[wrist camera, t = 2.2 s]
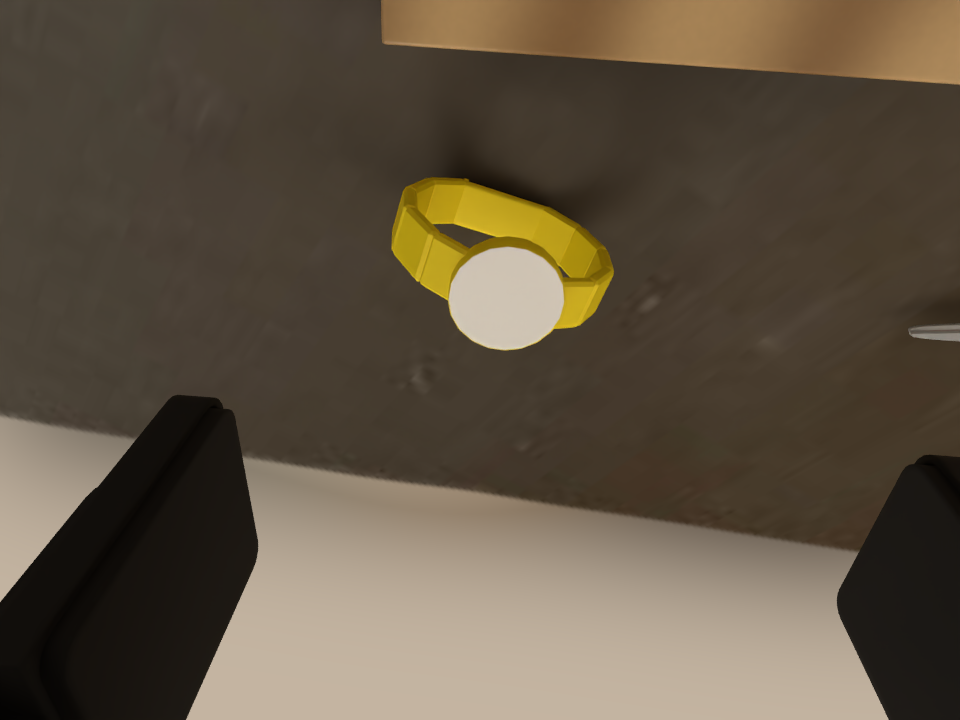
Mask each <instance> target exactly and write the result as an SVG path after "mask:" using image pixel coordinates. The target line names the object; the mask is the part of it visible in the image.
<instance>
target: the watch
mask: <svg viewBox="0 0 960 720" xmlns="http://www.w3.org/2000/svg"><path fill="white" fill-rule="evenodd" d="M449 223H453V224H456V225H459V226H462V227H466V228H469V229H472V230H476V231H479V232H482V233H485V234H489V235H492V236H495V237H497V238H490V239H487V240H485V241H483V242H481V243H479V244H476V245H474V246H473V247H471V248H470V249H469V248H468V247H466V246H464V245H462V244H461V243H459V242H457V241H455V240H453V239H452V238H450V237H448V236H446V235H445V234H443V233H440V232H439V230H438V229H437V228H436V227H435V226H434V225H433V224H449ZM392 251H393V252H394V255H395V256H396V257H397V259H398V260H399V261H400V262H401V263H402V264H403V266H404V267H405V268H406V269H407V270H408V271H409V272H410V274H411V275H412V276H413V277H414V278H415V279H416V281H420V283H421V285H423V286H424V287H426V288H428V289H429V290H431V291H433V292H435V293H436V294H438V295H440V296H441V297H443V298H445V299H446V300H448V304H449V310H450V314H451V317H452V318H453V320H454V322H455V323H456V325H457V327H458V328H459V330H460V331H461V332H462V333H464V334H465V335H466V336H467V337H468V338H469V339H470V340H472V341H473V342H476V343H478V344H480V345H482V346H484V347H487V348H492V349H498V350H513V349H521V348H524V347H527V346H529V345H532V344H534V343H537V342H539V341H540V340H541V339H543V338H544V337H545V336H546V335H548V334H549V333H550V332H551V331H552V330H553V329H557V328H572V327H575V326H579V325H580V324H582V323H583V322H584V321H585V320H586V319H588V318H589V317H590V316H591V315H592V314H593V313H595V311H596V309H597V307H598V305H599V303H600V301H601V299H602V297H603V295H604V293H605V291H606V289H607V287H608V285H609V283H610V281H611V279H612V277H613V275H614V274H613V273H614V269H613V266H612V263H611V260H610V256H609V253H608V251H607V250H606V248H605V247H604V246H603V245H602V244H601V243H600V242H599V241H598V240H597V239H596V238H594V237H593V236H592V235H591V234H590V233H589V232H588V231H587V230H586V229H585V228H582V227H581V226H580V225H579V224H578V223H576V222H574V221H573V220H571V219H569V218H567V217H566V216H564V215H562V214H561V213H559V212H557V211H556V210H554V209H552V208H550V207H547V206H544V205H540V204H537V203H534V202H531V201H528V200H525V199H522V198H519V197H516V196H512V195H509V194H506V193H503V192H500V191H497V190H494V189H491V188H488V187H484V186H481V185H478V184H475V183H472V182H469V179H466V178H464V180H463V179H462V178H439V177H431V178H426V179H423V180H421V181H419V182H416V183H414V184H412V185H409V186H407V187H405V189H404V190H403V193H402V197H401V200H400V204H399V208H398V211H397V215H396V218H395V222H394V226H393V229H392ZM558 266H561V268H562V269H563V270H564V271H565V272H566V273H567V274H568V276H569V277H570V278H563V277H562V273H561V271H560V269H559V267H558Z"/></svg>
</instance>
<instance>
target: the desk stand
mask: <svg viewBox="0 0 960 720" xmlns="http://www.w3.org/2000/svg"><path fill="white" fill-rule="evenodd" d="M381 26H382V42H383V43H384V44H389V45H403V46H417V47H431V48H445V49H460V50H474V51H488V52H502V53H517V54H531V55H545V56H559V57H574V58H588V59H602V60H616V61H630V62H645V63H659V64H673V65H687V66H702V67H716V68H730V69H744V70H759V71H773V72H787V73H801V74H815V75H830V76H844V77H858V78H872V79H887V80H901V81H915V82H929V83H944V84H958V85H960V0H381Z"/></svg>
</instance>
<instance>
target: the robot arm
mask: <svg viewBox="0 0 960 720" xmlns="http://www.w3.org/2000/svg"><path fill="white" fill-rule="evenodd" d="M257 553H258V539H257V533H256V529H255V523H254V517H253V512H252V506H251V501H250V496H249V490H248V485H247V480H246V474H245V469H244V464H243V458H242V453H241V447H240V442H239V437H238V431H237V426H236V420H235V416H234V413H233V412H232V410H229V409H223V406H222V403H221V402H220V400H219V399H217V398H210V397H198V396H185V395H175V396H172V397H171V398H170V399H169V400H168V401H167V402H166V404H165V405H164V406H163V407H162V408H161V410H160V411H159V412H158V413H157V415H156V416H155V417H154V418H153V420H152V421H151V422H150V423H149V425H148V426H147V427H146V428H145V429H144V431H143V432H142V433H141V434H140V436H139V437H138V438H137V439H136V441H135V442H134V443H133V444H132V446H131V447H130V448H129V449H128V450H127V452H126V453H125V454H124V455H123V457H122V458H121V459H120V461H119V462H118V463H117V464H116V466H115V467H114V468H113V469H112V470H111V472H110V473H109V474H108V475H107V476H106V478H105V479H104V480H103V481H102V483H101V484H100V485H99V486H98V487H97V488H95V489H94V490H93V491H92V492H91V493H90V494H89V495H88V496H87V497H86V498H85V499H84V500H83V501H82V503H81V504H80V505H79V506H78V508H77V509H76V510H75V511H74V512H73V514H72V515H71V516H70V517H69V519H68V520H67V521H66V522H65V523H64V525H63V526H62V527H61V528H60V530H59V531H58V532H57V533H56V534H55V536H54V537H53V538H52V539H51V541H50V542H49V543H48V544H47V546H46V547H45V548H44V549H43V551H42V552H41V553H40V554H39V555H38V557H37V558H36V559H35V560H34V562H33V563H32V564H31V565H30V566H29V568H28V569H27V570H26V571H25V572H24V574H23V575H22V576H21V578H20V579H19V580H18V581H17V582H16V584H15V585H14V586H13V587H12V588H11V590H10V591H9V592H8V593H7V595H6V596H5V597H4V598H3V600H2V601H1V602H0V720H186V718H187V716H188V714H189V712H190V709H191V707H192V704H193V703H194V700H195V698H196V696H197V694H198V691H199V689H200V687H201V685H202V682H203V680H204V678H205V676H206V673H207V671H208V669H209V667H210V665H211V662H212V660H213V657H214V656H215V653H216V651H217V649H218V646H219V644H220V642H221V640H222V638H223V635H224V633H225V631H226V629H227V626H228V624H229V622H230V620H231V617H232V615H233V613H234V611H235V609H236V606H237V604H238V602H239V600H240V597H241V595H242V593H243V591H244V588H245V586H246V584H247V582H248V579H249V577H250V575H251V572H252V570H253V568H254V565H255V563H256V558H257ZM837 607H838V613H839V615H840V618H841V620H842V622H843V625H844V627H845V629H846V631H847V633H848V635H849V637H850V639H851V641H852V643H853V645H854V648H855V650H856V651H857V654H858V656H859V658H860V660H861V662H862V664H863V666H864V669H865V671H866V673H867V675H868V677H869V679H870V681H871V683H872V685H873V687H874V689H875V692H876V694H877V696H878V698H879V700H880V702H881V704H882V706H883V708H884V710H885V713H886V715H887V717H888V719H889V720H960V457H951V456H939V455H925V456H922V457H921V458H919V459H918V460H917V461H916V462H915V464H911V465H908V466H907V467H905V469H904V470H903V471H902V473H901V475H900V477H899V478H898V480H897V482H896V484H895V486H894V488H893V490H892V492H891V493H890V495H889V497H888V499H887V501H886V503H885V505H884V507H883V508H882V510H881V512H880V514H879V516H878V518H877V520H876V522H875V523H874V525H873V527H872V529H871V531H870V533H869V535H868V537H867V538H866V540H865V542H864V544H863V546H862V548H861V550H860V552H859V553H858V555H857V557H856V559H855V561H854V563H853V565H852V567H851V568H850V571H849V572H848V574H847V576H846V578H845V580H844V582H843V584H842V585H841V587H840V589H839V592H838V596H837Z"/></svg>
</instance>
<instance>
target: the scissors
mask: <svg viewBox="0 0 960 720" xmlns="http://www.w3.org/2000/svg"><path fill="white" fill-rule="evenodd" d="M908 331H909V334H910V335H911V336H913V337H917V338H924V339H936V340H949V341H960V323H959V324H932V325H918V326H912V327H910V328H908Z"/></svg>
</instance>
